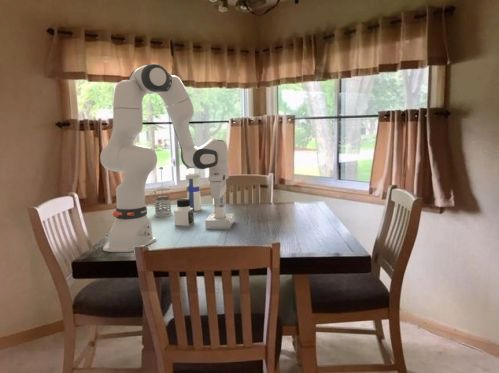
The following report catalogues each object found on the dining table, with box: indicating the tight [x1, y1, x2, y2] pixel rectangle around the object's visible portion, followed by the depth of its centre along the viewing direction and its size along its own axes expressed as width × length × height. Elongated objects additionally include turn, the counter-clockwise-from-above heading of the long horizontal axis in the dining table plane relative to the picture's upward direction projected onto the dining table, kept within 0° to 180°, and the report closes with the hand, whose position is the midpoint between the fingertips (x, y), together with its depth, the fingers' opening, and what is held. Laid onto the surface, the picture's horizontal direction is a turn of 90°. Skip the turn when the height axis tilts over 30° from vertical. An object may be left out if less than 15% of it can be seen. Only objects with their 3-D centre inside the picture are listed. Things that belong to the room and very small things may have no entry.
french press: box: [148, 166, 174, 218], centre depth 213 cm, size 10×12×25 cm
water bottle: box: [185, 167, 202, 212], centre depth 224 cm, size 8×9×25 cm
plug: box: [214, 202, 226, 218], centre depth 190 cm, size 4×4×9 cm
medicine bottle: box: [173, 197, 195, 227], centre depth 194 cm, size 7×7×12 cm
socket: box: [204, 212, 235, 230], centre depth 191 cm, size 14×11×5 cm
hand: (219, 204), depth 189 cm, fingers open, 8 cm apart
